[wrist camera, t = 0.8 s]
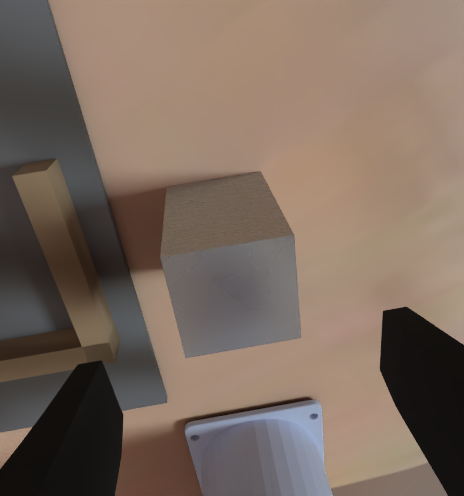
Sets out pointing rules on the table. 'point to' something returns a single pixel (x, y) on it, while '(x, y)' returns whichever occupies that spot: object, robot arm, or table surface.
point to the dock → (57, 237)
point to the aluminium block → (229, 265)
